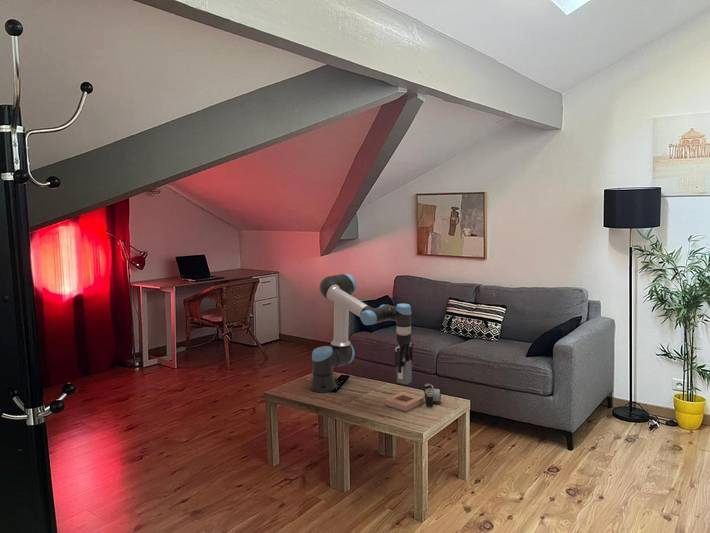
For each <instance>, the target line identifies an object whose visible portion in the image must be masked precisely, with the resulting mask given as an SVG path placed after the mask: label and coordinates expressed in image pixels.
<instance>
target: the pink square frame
mask: <svg viewBox="0 0 710 533" xmlns="http://www.w3.org/2000/svg"><path fill="white" fill-rule="evenodd" d="M422 405H424V397H422V396H418V395H416V394H412V393H409V392H405V391H401V392H399V393H397V394H394V395H391V396H389V397H387V398H385V399H384V406H385V407H387V408H391V409H394V410H397V411H401V412H403V413H408V412H410V411H412V410H414V409H417V408H418V407H420V406H422Z"/></svg>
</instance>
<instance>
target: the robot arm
mask: <svg viewBox="0 0 710 533" xmlns="http://www.w3.org/2000/svg"><path fill="white" fill-rule="evenodd" d="M356 290H357V283H356V280H355V278H354V276H352V275H351V274H349V273H340V274H335V275H328V276H325V277H324V278H323V279H322V280H321V281H320V283H319V292H320V294H321V296H323V298H324V299H325V300H328V301H329V302H332V301H333V302H334V303H333V304H334V305H333V340H332V341H331V342H330V345H329V346H328V345H323V346H319V347H316V348H314V349H313V350H312V353H311V361H312V362H311V364H312V376H311V381H310V383H309V390H310V391H312V392H314V393H321V394H323V393H330V392H333V391H334V390H333V389H334V388H335V387H336V388H337V382H336V379H335V376H334V369H335V368H338V367H342V366H346V365H348V364H351V363H352V362H353V360H354V359H355V356H356V354H355V349H354V346H353V345H352V343H351V341H350V340H349V323H350V322H349V321H350V320H349V317H350V316H349V315H350V312H351V313H352V314H354V315H355V316H357V317H358V318H360V319H359V320H360V321H361V322H362V324H363V325H365V326H369V325H370V326H371V325H375V324H379V323H383V322H387V321H393V322H396V324H395V325H396V326H395V327H396V331H395V332H396V342H397V346H396V347H393V349H394V366H395V367H396V368H397V367H398V378H400V379H403V367H402V363H403V358H405V359H410V360H412V363H413V362H414V346H415V345H414V343H412V334H411V333H412V309H411V308H412V307H411V304H409V303H397V304H396V306H395V305H390V304H381V305H380V306H378V307H376V308H373V307H372V306H369V305H368V304H367V303H364V302H363V301H362V300H359V299H358V298H356V297H355V296H353V294H354V293H355V292H356ZM332 390H333V391H332Z"/></svg>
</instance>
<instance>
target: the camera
mask: <svg viewBox="0 0 710 533" xmlns="http://www.w3.org/2000/svg"><path fill="white" fill-rule="evenodd" d="M422 388H423V390H422V391H423V392H424V399H425V408H428V409H431V408H432V409H433V407H434V402H435V403H437V402H441V400H442V395H441V394H442V393H441V389H439V388H434V385H432V384H431V383H425V384H424V385H423V387H422Z"/></svg>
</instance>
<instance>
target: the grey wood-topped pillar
mask: <svg viewBox="0 0 710 533" xmlns="http://www.w3.org/2000/svg"><path fill="white" fill-rule="evenodd" d="M412 364H413V362H412V360H410V359H405V357H403V363H402V367H403V379H400V378H398V367H397V366H396V383H399V384H403V385H406V386H407V385H408V384H411V383H412V382H413V380H412V377H413V375H412V374H413V373H412V372H413V370H412V368H413V365H412Z"/></svg>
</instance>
